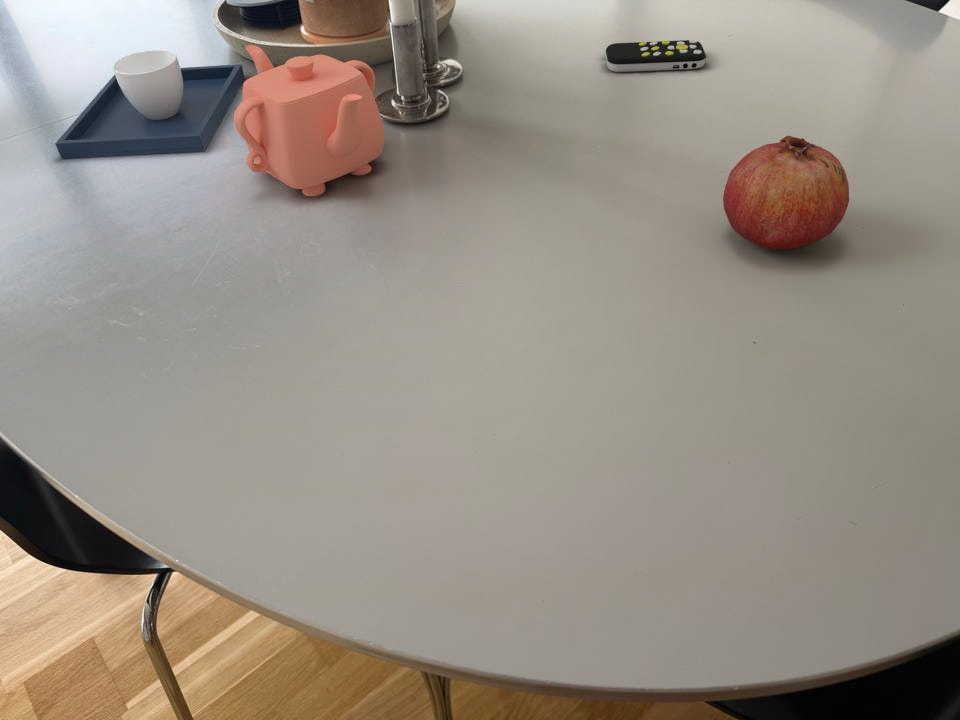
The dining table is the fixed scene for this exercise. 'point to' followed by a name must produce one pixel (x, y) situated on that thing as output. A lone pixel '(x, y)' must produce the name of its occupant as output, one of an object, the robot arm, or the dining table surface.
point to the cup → (151, 82)
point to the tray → (128, 132)
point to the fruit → (786, 194)
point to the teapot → (309, 120)
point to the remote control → (655, 56)
